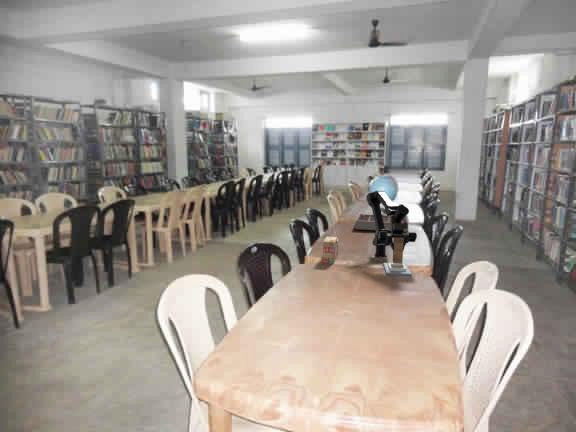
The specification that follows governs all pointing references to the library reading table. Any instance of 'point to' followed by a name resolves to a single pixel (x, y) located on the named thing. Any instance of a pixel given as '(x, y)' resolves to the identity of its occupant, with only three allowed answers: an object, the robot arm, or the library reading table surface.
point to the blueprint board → (397, 269)
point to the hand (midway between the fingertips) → (398, 250)
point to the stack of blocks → (330, 249)
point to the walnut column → (398, 250)
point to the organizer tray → (369, 224)
